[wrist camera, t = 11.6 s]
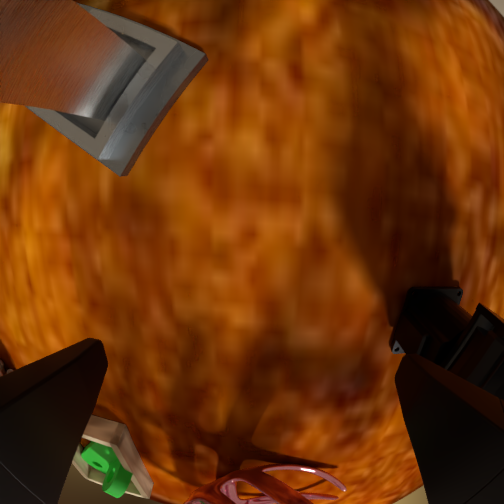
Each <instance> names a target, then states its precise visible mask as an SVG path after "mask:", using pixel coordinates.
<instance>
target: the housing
mask: <svg viewBox="0 0 504 504" xmlns="http://www.w3.org/2000/svg"><path fill="white" fill-rule="evenodd" d="M77 4H78V5H80V6H81V7H82V8H83V9H85V10H86V11H87V12H89V13H90V14H91V15H93V16H94V17H95V18H96V19H98V20H99V21H100V22H101V23H103V24H104V25H105V26H106V27H108V28H109V29H110V30H111V31H113V32H114V33H115V34H116V35H117V36H119V37H120V38H121V39H122V40H123V41H125V42H126V43H127V44H128V45H129V46H130V47H132V48H133V49H134V50H135V51H136V52H137V53H139V54H140V55H141V56H142V57H143V58H144V59H145V60H147V61H146V62H145V63H144V64H143V66H142V67H141V68H140V70H139V71H138V72H137V74H136V75H135V76H134V78H133V79H132V81H131V82H130V83H129V85H128V86H127V88H126V89H125V91H124V92H123V94H122V95H121V97H120V98H119V100H118V101H117V103H116V104H115V106H114V107H113V109H112V111H111V112H110V114H109V115H108V117H107V119H106V120H105V121H102V120H98V119H94V118H89V117H85V116H80V115H75V114H70V113H65V112H60V111H55V110H49V109H44V108H37V107H31V106H26V107H27V108H28V109H30V110H31V111H32V112H34V113H35V114H36V115H38V116H39V117H40V118H42V119H43V120H44V121H46V122H47V123H48V124H50V125H51V126H52V127H54V128H55V129H56V130H58V131H59V132H60V133H62V134H63V135H64V136H66V137H67V138H68V139H70V140H71V141H72V142H74V143H75V144H76V145H78V146H79V147H80V148H82V149H83V150H85V151H86V152H87V153H89V154H90V155H91V156H93V157H94V158H95V159H97V160H98V161H100V162H101V163H102V164H104V165H105V166H106V167H108V168H109V169H111V170H112V171H113V172H115V173H116V174H117V175H119V176H127V175H128V174H129V172H130V170H131V168H132V167H133V165H134V163H135V162H136V160H137V158H138V157H139V155H140V154H141V152H142V150H143V149H144V147H145V146H146V144H147V142H148V141H149V139H150V138H151V136H152V135H153V133H154V132H155V130H156V129H157V127H158V126H159V124H160V123H161V121H162V120H163V118H164V117H165V116H166V114H167V113H168V111H169V110H170V108H171V107H172V106H173V104H174V103H175V102H176V100H177V99H178V98H179V96H180V95H181V94H182V92H183V91H184V90H185V88H186V87H187V86H188V84H189V83H190V82H191V81H192V79H193V78H194V77H195V76H196V74H197V73H198V72H199V71H200V70H201V68H202V67H203V66H204V65H205V64H206V62H207V61H208V58H207V56H206V54H205V53H203V52H201V51H199V50H197V49H195V48H193V47H191V46H189V45H187V44H185V43H183V42H181V41H179V40H177V39H175V38H173V37H170V36H168V35H166V34H164V33H161V32H159V31H157V30H155V29H152V28H150V27H147V26H145V25H142V24H140V23H137V22H135V21H132V20H130V19H127V18H124V17H121V16H118V15H116V14H113V13H110V12H107V11H103V10H100V9H97V8H94V7H90V6H87V5H83V4H79V3H77ZM24 106H25V105H24Z"/></svg>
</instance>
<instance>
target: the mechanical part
mask: <svg viewBox="0 0 504 504" xmlns="http://www.w3.org/2000/svg"><path fill="white" fill-rule="evenodd" d="M81 457H82V458H83V460H84V461H85V462H87V463H88V464H89V465H91V466H92V467H94V468H95V469H97V470H99V471H100V472H102V473H104V474H106V476H105V479H104V481H103V485H102V489H103V491H104V492H106V493H108V494H110V495H112V496H114V497H116V498H119V497H121V496H122V495H123V494H124V492H125V491H126V489H127V488H128V486H129V483H130V481H131V478H132V475H133V473H131V472H129V471H127V470H125V469H124V468H123V466H122V464H121V463H120V461H119V459H118V458H117V456H116V454H115V452H114V451H113V449H112V447H109V446H106V445H102V444H99V443H96V442H94V441H91V442H90V443H89V444H88V445H87V446H86V447H85V448H84V450H83V452H82V454H81Z"/></svg>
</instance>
